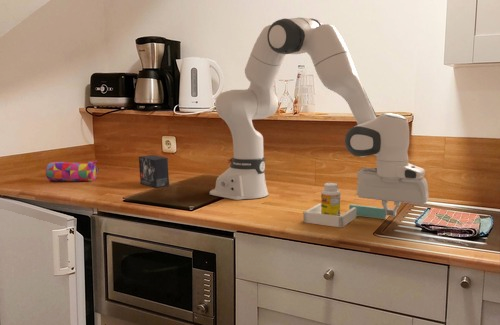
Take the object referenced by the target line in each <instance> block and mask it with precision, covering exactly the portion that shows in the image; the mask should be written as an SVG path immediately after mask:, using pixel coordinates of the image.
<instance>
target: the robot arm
mask: <svg viewBox="0 0 500 325" xmlns="http://www.w3.org/2000/svg"><path fill="white" fill-rule="evenodd" d="M305 53H306V54H308V55H309V57H310V59H311V60H312V61H311V62H312V64H313V67H314V69H315V72H316V75H317V76H318V78H319V80H320V82H321V83H322V85H323V86H324V87H325V88H326V89H328V90H330V91H333V92H334V93H335V94H338V95H339V96H340V97H342V98H343V99H344V101H345V102H346V104H348V106H349V109H350V111H351V113H352V115H353V118H354V119H355V121H356V123H357V124H356V125H355V126H352V127H351V128H350V129H348V131H347V132H346V134H345V137H344V145H345V148H346V150H347V152H348V153H349V154H350V155H352V156H355V157H358V158H359V157H360V158H364V157H370V156H376V167H367V166H366V167H365V166H364V167H361V168H359V169H358V171H357V175H356V177H357V180H358V181H357V187H356V195H357V197H358V198H360V199H367V200H376V201H377V200H378V201H381V205H382V208H384V209H385V215H386V216H390V217H396V216H397V210H398V209H399V207H400V206H401V203H404V204H413V205H421V206H422V205H425V204H426V203H427V202H429V201H428V200H429V184H428V181H427V179H426V178H425V175H426V169H425V168H422V167H420V166H417V165H415V164H412V163H410V162H409V159H410V158H409V155H408V154H409V153H408V150H409V146H410V124H409V121H408V119H407V118H406V117H405V116H404V115H402V114H398V113H394V112H392V113H391V112H382V113H380V115H377V113H376V111H375V109H374V107H373V106H372V103H371V101H370V99H369V97H368V94H367V93H366V91H365V88H364V86H363V85H362V82H361V79H360V77H359V76H358V75H359V74H358V72H357V70H356V68H355V67H356V66H355V65H354V62H353V59H352V57H351V54H350V51H349V49H348V47H347V45H346V43H345V41H344V39H343V37H342V36H341V34H340V32H339V31H338V29H337V28H336V27H335V26H334V25H332V24H328V23H326V24H325V23H323V22H321V21H320V20H318V19H314V18H306V17H293V18H292V17H291V18H280V19H278V20H275V21H274V22H272V24H268V25H266V26H265V27H264V28H263V29H262V30H261V31H260V33H259V35H258V37H257V39H256V40H255V42H254V44H253V47H252V49H251V52H250V55H249V57H248V60H247V63H246V65H245V67H244V74H245V75H244V76H245V78H246V79H247V80H248V81H249V82H250V84H249V87H248V88H246V89H231V90H226V91H224V92H221V93H219V95H217V98H216V100H215V110H216V113H217V115H218V116H219V118H221V119H222V120H223V121H224V122H225V123H226V125H227V126H228V128H229V130H230V134H231V137H232V147H233V148H232V149H233V157H231V158H230V159H227V164H230V165H229V167H228V168H227V169H226V170H225V171H224V172H222V173H221V174H220V175H219V176H217V178H216V181H215V188H212V189H211V190H210V191H209V195H212V196H215V197H220V198H226V199H229V200H233V201H234V200H236V201H237V200H239V201H240V200H248V199H249V200H250V199H251V200H252V199H260V198H265V197H267V196H268V195H269V191H268V188H267V182H266V176H265V172H266V171H265V170H266V161H265V160H266V159H265V158H266V157H265V156H264V136H263V134H262V133H261V132H260V131H258V130H256V129H255V127H254V123H253V120H263V119H265V118H266V119H267V118H269V117H272V116H274V115H275V114H276V113H277V111H278V108H279V99H278V97H277V95H276V94H275V92H274V91H275V90H274V87H275V82H276V79H277V77H278V76H277V75H278V74H279V71H280V70H281V69H280V68H281V66H282V64H283V61H284V59H285V57H286V55H300V54H305ZM389 202H393V204H394V205H393V206H394V208H390V207H389V206H388V203H389Z"/></svg>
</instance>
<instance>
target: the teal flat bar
mask: <svg viewBox="0 0 500 325" xmlns="http://www.w3.org/2000/svg"><path fill="white" fill-rule="evenodd" d="M353 207H354V208H357V209H356V217H365V218H374V219H381V220H386V218H387V215H385V209H384V207H375V206H368V205H362V204H360V205H358V204H349V210H350V209H352V208H353ZM349 210H348V211H349Z"/></svg>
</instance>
